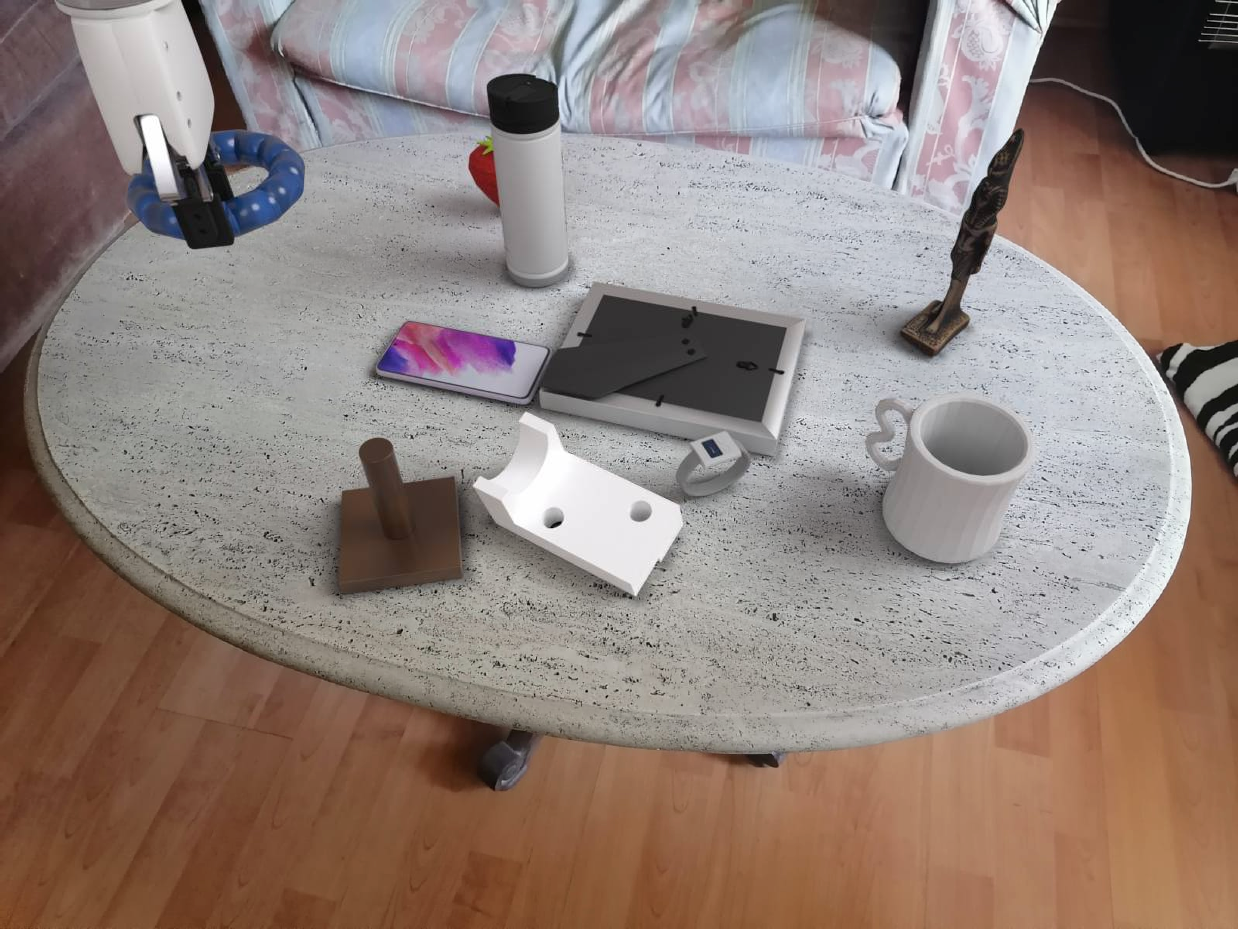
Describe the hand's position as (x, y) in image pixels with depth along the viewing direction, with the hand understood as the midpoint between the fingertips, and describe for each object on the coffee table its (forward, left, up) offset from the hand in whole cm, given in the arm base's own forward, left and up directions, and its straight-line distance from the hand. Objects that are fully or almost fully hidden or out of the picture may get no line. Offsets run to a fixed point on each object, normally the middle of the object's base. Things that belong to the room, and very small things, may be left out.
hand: (214, 228), depth 69 cm
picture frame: (+35, -1, -19) cm, 40 cm away
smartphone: (+16, +3, -19) cm, 25 cm away
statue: (+60, 0, -19) cm, 63 cm away
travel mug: (+24, +16, -19) cm, 35 cm away
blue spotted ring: (0, +5, +1) cm, 5 cm away
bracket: (+24, -18, -19) cm, 36 cm away
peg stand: (+10, -16, -19) cm, 27 cm away
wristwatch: (+35, -15, -19) cm, 43 cm away
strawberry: (+22, +27, -19) cm, 40 cm away
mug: (+51, -20, -19) cm, 58 cm away
